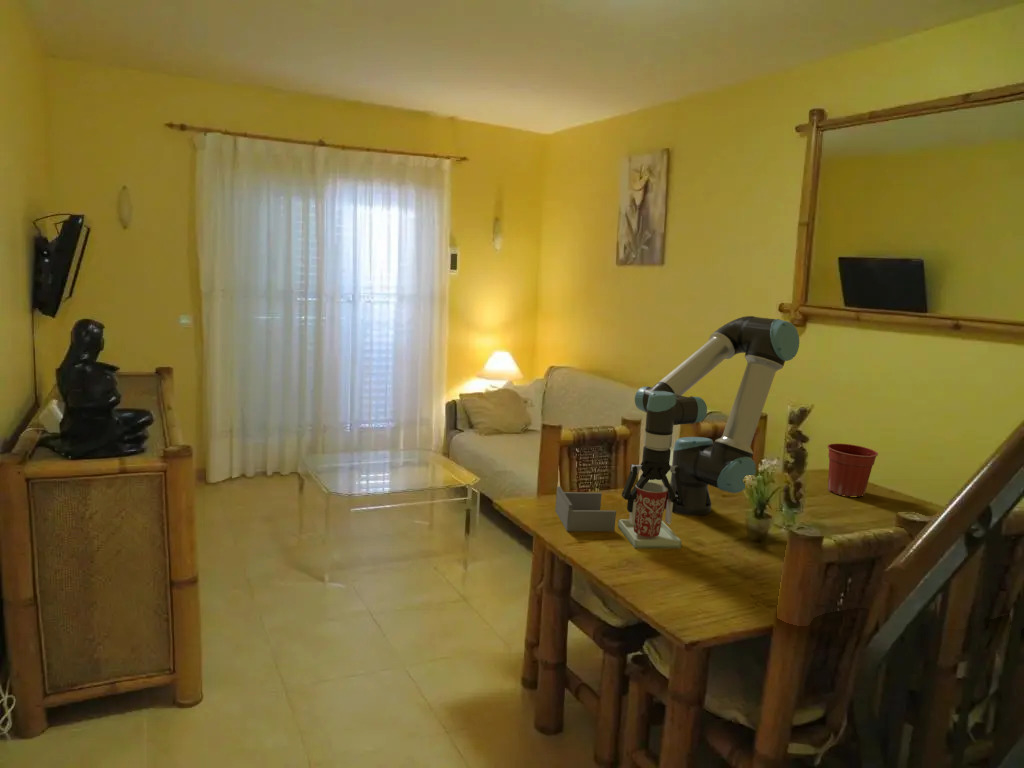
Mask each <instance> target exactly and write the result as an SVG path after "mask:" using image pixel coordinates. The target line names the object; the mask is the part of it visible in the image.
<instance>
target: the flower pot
mask: <svg viewBox="0 0 1024 768" xmlns="http://www.w3.org/2000/svg"><path fill="white" fill-rule="evenodd" d="M827 449H828V460H829V461H828V462H829V463H828V476H827V477H828V480H827V489H828V492H830V493H835V494H834V495H837V494H839V495H838V496H840V495H845V496H862V495H864V496H865V494H866V492H867V488H868V483H869V480H870V476H871V472H872V469H873V466H875V461H876V458H877V457H878V456H879V453H878V452H877V450H876V451H875V450H874V449H872V448H869V447H865V446H860V445H854V444H849V443H848V444H847V443H830V444H828V445H827Z"/></svg>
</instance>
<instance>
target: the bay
mask: <svg viewBox="0 0 1024 768" xmlns="http://www.w3.org/2000/svg"><path fill="white" fill-rule="evenodd" d="M602 494H603V493H602V492H580V491H579V492H578V491H577V492H573V491H564V490H563V489H562V487H561V486H557V487H556V496H555V509H554V511H555V513H556V515H557V517H558V518H559V520H560V521H561V524H562V525H563V527H564V528H565V530H566V532H615V528H616V517H617V516H616V515H617V511H616V510H601V504H602V503H601V502H602Z"/></svg>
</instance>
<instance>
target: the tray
mask: <svg viewBox="0 0 1024 768" xmlns="http://www.w3.org/2000/svg"><path fill="white" fill-rule="evenodd" d="M617 527H618V528H619V530H620V531H621V532H622V533H623V535H624V537H625V538H626V539H627V540H628V542H629V543H630V544H631V545H632V547H633V548H634V549H681V548H682V539H680V537H679V536H678V535H677V534H676V533H675V532H674V531H673V530H672V529H671V528H670V527H669V526H668V525H667V523H666V522H665V521H664V520H662V522H661V527H660V533H659V535H658V536H655V537H646V536H641V535H639V534H637V533H635V532H634V524H631V523H630V521H629V518H628V519H621V518H620V519H619V518H618V522H617Z"/></svg>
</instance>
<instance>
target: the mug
mask: <svg viewBox="0 0 1024 768" xmlns="http://www.w3.org/2000/svg"><path fill="white" fill-rule="evenodd" d="M634 486H635V487H636V489H637V497H636V498H635V501H636V502H637V503H636V514H635V524H634V532H635V533H637V534H639V535H641V536H646V537H655V536H658V535H659V533H660V527H661V522H662V521H663V515H664V511H666V508H665V507H666V505H667V499H668V496H669V495H668V493H667V491H668V488H666V487H665V486H664V484H660V483H657V482H653V481H648V482H647V483H646V484H645V485H644V487H643V488H642V489H640V488H638V487H637V485H636V484H635V485H634Z"/></svg>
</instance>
